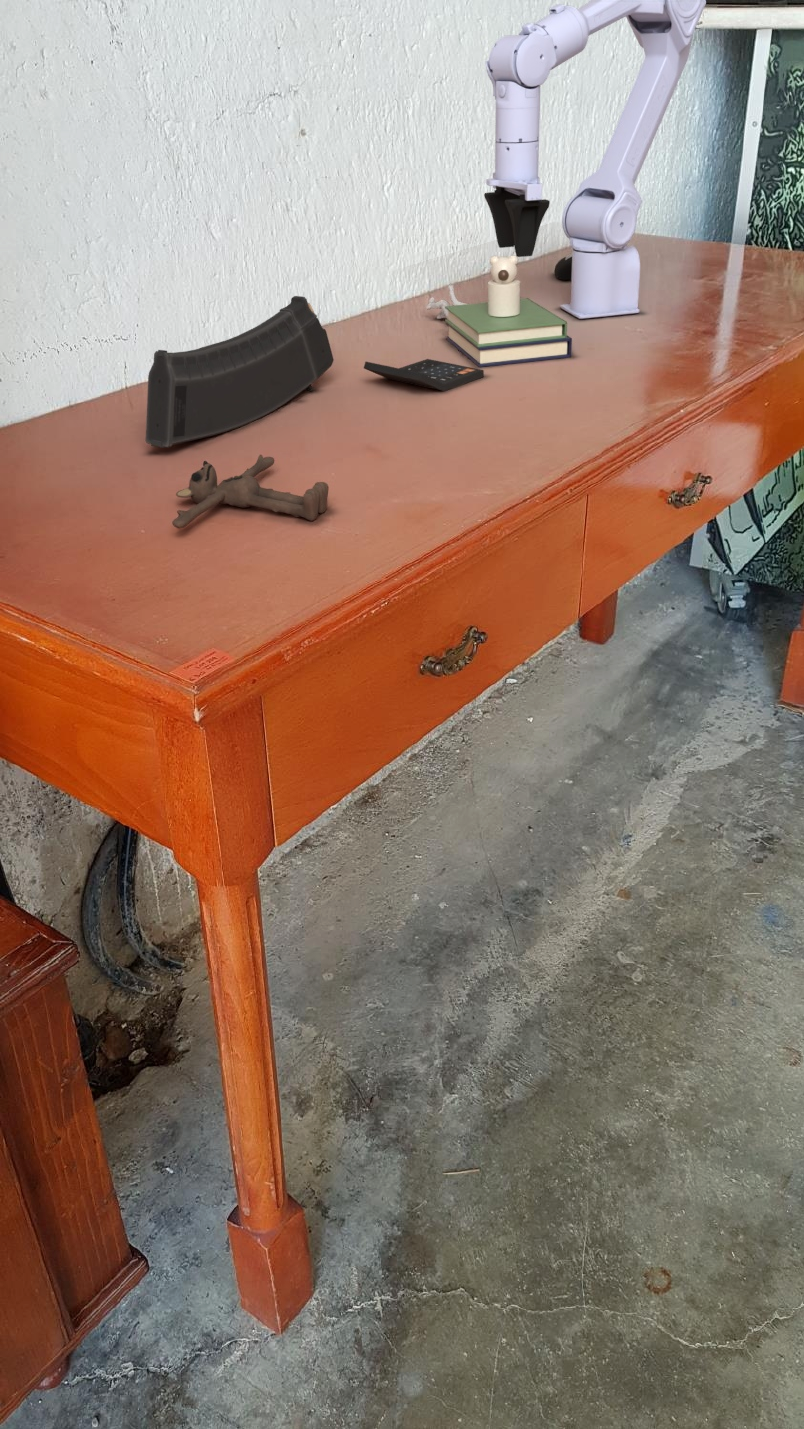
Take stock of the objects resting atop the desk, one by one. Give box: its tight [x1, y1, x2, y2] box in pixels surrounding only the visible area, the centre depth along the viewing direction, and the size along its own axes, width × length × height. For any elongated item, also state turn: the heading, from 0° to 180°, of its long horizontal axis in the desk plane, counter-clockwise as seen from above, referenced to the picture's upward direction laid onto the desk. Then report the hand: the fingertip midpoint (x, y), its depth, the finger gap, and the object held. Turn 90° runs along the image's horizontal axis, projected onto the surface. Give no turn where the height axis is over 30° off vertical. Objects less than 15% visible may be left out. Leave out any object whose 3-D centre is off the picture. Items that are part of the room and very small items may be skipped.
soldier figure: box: [425, 283, 467, 320], centre depth 164 cm, size 8×5×12 cm
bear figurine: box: [171, 454, 329, 529], centre depth 107 cm, size 18×4×14 cm
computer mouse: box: [554, 253, 572, 281], centre depth 190 cm, size 8×12×4 cm, turn 89°
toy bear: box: [487, 254, 521, 317], centre depth 150 cm, size 4×4×7 cm
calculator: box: [363, 358, 485, 392], centre depth 141 cm, size 9×12×3 cm
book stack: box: [444, 297, 573, 368], centre depth 153 cm, size 12×16×4 cm
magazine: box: [145, 295, 334, 449], centre depth 129 cm, size 17×3×30 cm
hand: (515, 251), depth 157 cm, fingers open, 7 cm apart
